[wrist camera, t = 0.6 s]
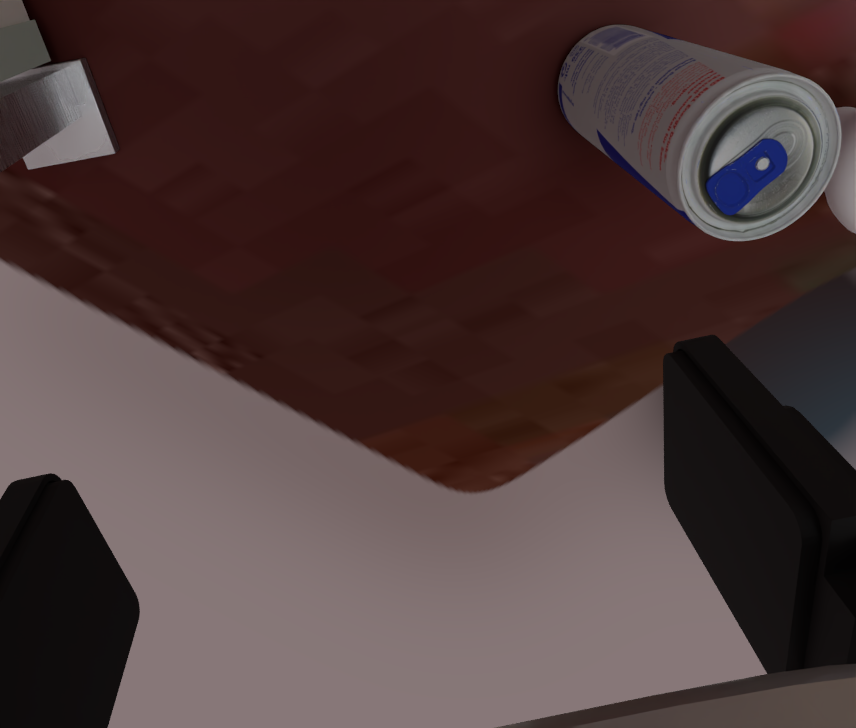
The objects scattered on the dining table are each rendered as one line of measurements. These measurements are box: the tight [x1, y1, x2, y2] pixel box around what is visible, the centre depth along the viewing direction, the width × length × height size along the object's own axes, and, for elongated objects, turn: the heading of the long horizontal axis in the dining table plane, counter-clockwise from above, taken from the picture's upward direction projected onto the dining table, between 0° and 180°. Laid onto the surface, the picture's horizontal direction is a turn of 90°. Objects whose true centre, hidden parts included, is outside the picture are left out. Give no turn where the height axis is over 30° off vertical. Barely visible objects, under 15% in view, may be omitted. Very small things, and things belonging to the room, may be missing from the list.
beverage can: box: [558, 25, 841, 241], centre depth 28 cm, size 5×5×15 cm
